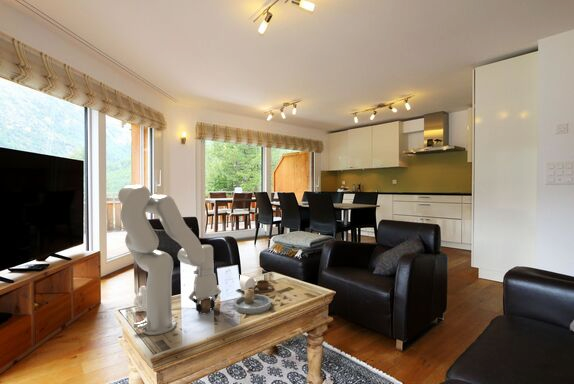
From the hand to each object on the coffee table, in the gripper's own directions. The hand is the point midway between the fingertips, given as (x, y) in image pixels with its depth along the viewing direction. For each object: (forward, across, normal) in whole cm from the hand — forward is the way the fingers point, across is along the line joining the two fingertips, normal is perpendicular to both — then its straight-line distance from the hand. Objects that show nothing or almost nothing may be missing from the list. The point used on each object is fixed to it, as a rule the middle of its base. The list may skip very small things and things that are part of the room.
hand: (205, 309), depth 135 cm
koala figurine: (+1, -24, +19) cm, 31 cm away
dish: (+1, +21, -7) cm, 22 cm away
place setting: (+2, +33, +10) cm, 35 cm away
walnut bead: (+1, 0, 0) cm, 1 cm away
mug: (+1, +30, +16) cm, 34 cm away
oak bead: (0, +21, -4) cm, 21 cm away
